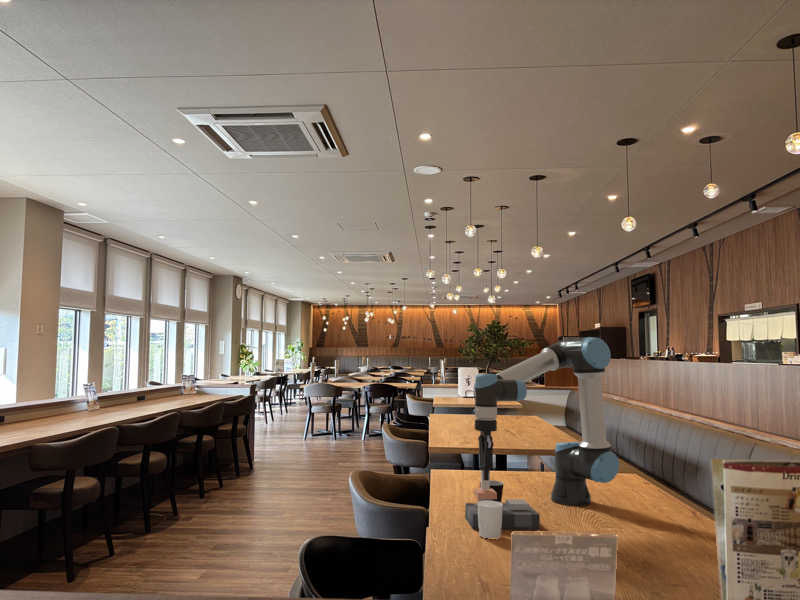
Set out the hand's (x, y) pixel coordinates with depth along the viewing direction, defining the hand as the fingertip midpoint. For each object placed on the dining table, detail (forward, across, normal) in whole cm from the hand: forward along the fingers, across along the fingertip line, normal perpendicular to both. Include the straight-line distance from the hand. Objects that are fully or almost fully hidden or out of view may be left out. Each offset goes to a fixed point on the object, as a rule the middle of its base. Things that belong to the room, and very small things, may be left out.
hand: (485, 489), depth 190 cm
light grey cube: (+10, 0, +11) cm, 15 cm away
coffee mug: (+11, -18, +7) cm, 22 cm away
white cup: (+12, +14, -2) cm, 18 cm away
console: (+11, 0, +6) cm, 13 cm away
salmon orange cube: (+7, 0, 0) cm, 7 cm away
